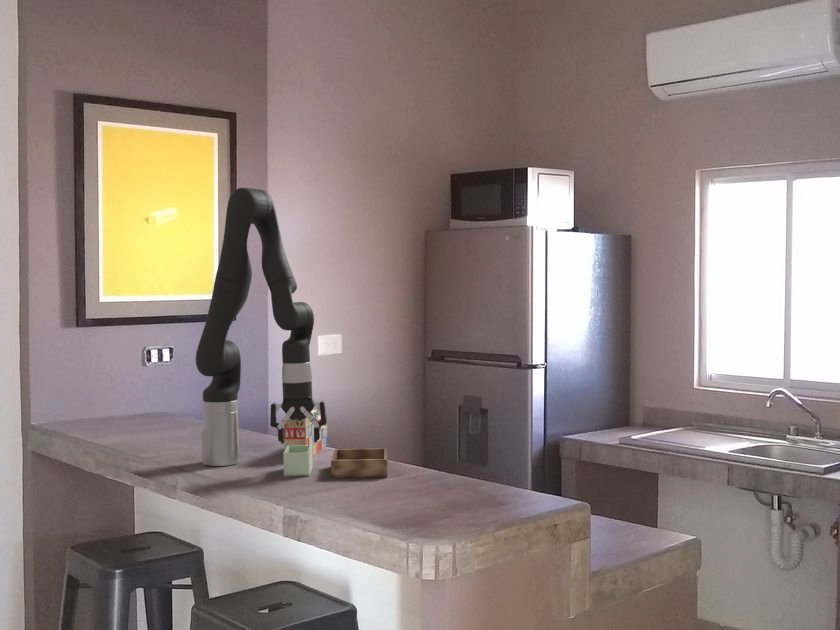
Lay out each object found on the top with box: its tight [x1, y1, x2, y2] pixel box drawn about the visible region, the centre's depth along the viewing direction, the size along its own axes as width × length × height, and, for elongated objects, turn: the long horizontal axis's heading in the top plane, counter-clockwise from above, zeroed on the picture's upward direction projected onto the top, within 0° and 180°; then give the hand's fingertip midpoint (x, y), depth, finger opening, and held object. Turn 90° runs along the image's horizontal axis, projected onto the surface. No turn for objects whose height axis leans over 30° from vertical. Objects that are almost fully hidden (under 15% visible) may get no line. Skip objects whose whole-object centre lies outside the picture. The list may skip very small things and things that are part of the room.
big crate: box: [330, 447, 389, 479], centre depth 245 cm, size 14×15×4 cm
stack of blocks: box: [283, 409, 328, 457], centre depth 271 cm, size 21×6×12 cm, turn 170°
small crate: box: [283, 445, 313, 478], centre depth 245 cm, size 6×10×6 cm, turn 2°
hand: (299, 442), depth 245 cm, fingers open, 8 cm apart
